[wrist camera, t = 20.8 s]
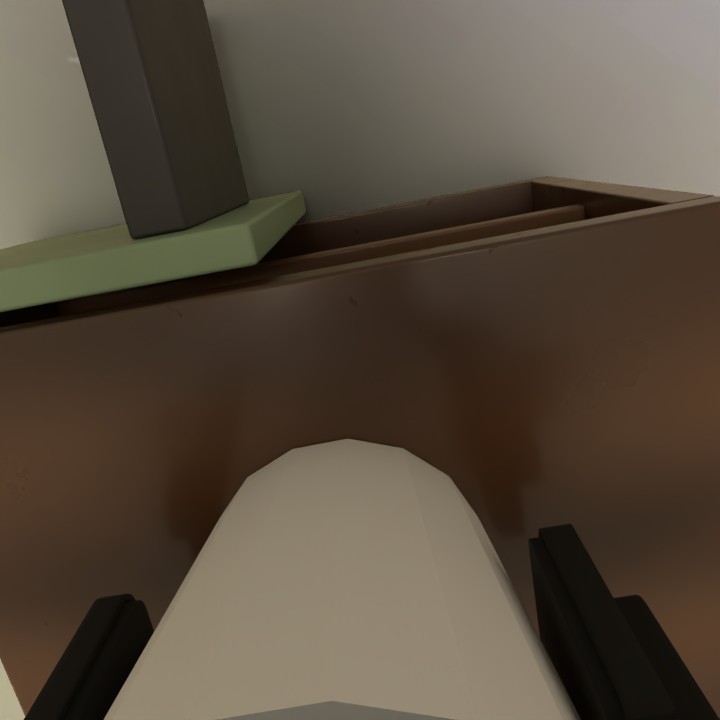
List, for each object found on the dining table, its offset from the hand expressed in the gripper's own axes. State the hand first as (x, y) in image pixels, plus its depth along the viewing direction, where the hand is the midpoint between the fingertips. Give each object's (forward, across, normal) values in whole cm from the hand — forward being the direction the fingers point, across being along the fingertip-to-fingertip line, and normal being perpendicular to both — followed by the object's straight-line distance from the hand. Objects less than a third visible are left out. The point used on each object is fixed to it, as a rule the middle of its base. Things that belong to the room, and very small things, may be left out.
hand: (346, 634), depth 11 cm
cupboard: (+14, 0, 0) cm, 14 cm away
